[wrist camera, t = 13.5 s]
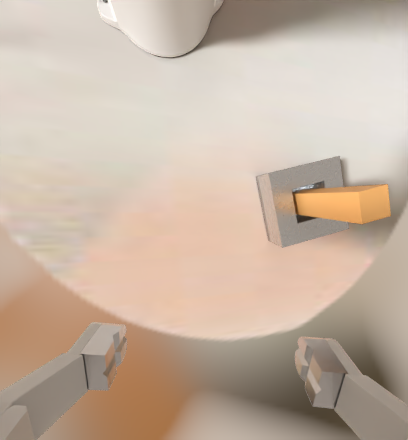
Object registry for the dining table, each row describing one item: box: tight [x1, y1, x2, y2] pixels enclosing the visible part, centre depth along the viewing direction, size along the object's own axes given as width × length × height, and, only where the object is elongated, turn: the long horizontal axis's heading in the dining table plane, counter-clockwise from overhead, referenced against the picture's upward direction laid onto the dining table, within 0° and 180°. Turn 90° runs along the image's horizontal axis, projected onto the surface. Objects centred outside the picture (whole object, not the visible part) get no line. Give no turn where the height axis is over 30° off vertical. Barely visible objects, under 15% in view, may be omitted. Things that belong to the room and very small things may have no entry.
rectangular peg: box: [292, 184, 391, 224], centre depth 27 cm, size 4×4×14 cm
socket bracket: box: [256, 156, 349, 248], centre depth 32 cm, size 12×12×5 cm
